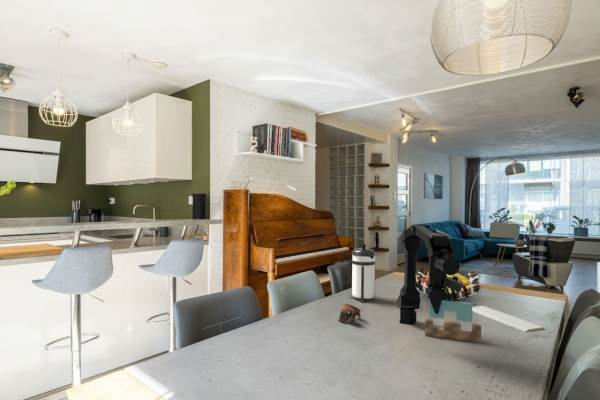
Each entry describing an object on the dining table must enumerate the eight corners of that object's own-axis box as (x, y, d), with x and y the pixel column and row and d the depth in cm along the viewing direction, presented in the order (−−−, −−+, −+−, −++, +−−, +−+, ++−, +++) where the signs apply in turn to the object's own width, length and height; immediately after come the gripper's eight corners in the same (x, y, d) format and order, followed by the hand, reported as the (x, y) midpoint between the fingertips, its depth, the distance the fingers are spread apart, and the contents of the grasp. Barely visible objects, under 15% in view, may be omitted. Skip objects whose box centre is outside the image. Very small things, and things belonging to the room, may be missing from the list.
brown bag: (334, 319, 157) (340, 302, 160) (352, 328, 158) (358, 310, 161) (343, 321, 146) (350, 302, 149) (362, 330, 147) (369, 312, 150)
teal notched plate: (429, 317, 126) (429, 300, 126) (429, 315, 128) (429, 298, 128) (472, 322, 121) (472, 304, 121) (471, 319, 123) (471, 302, 123)
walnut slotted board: (425, 335, 138) (425, 320, 138) (424, 333, 140) (425, 318, 140) (481, 342, 132) (481, 326, 132) (480, 340, 134) (480, 324, 134)
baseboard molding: (522, 333, 143) (543, 330, 147) (522, 326, 143) (543, 323, 147) (464, 310, 173) (483, 308, 177) (464, 304, 173) (483, 303, 177)
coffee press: (378, 296, 195) (379, 242, 195) (375, 304, 180) (376, 246, 180) (348, 293, 201) (348, 241, 201) (342, 300, 186) (343, 244, 186)
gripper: (464, 276, 115) (464, 324, 115) (458, 266, 132) (458, 307, 132) (428, 273, 118) (427, 319, 118) (427, 264, 136) (427, 304, 136)
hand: (436, 312), depth 126 cm, fingers closed on teal notched plate, 2 cm apart
